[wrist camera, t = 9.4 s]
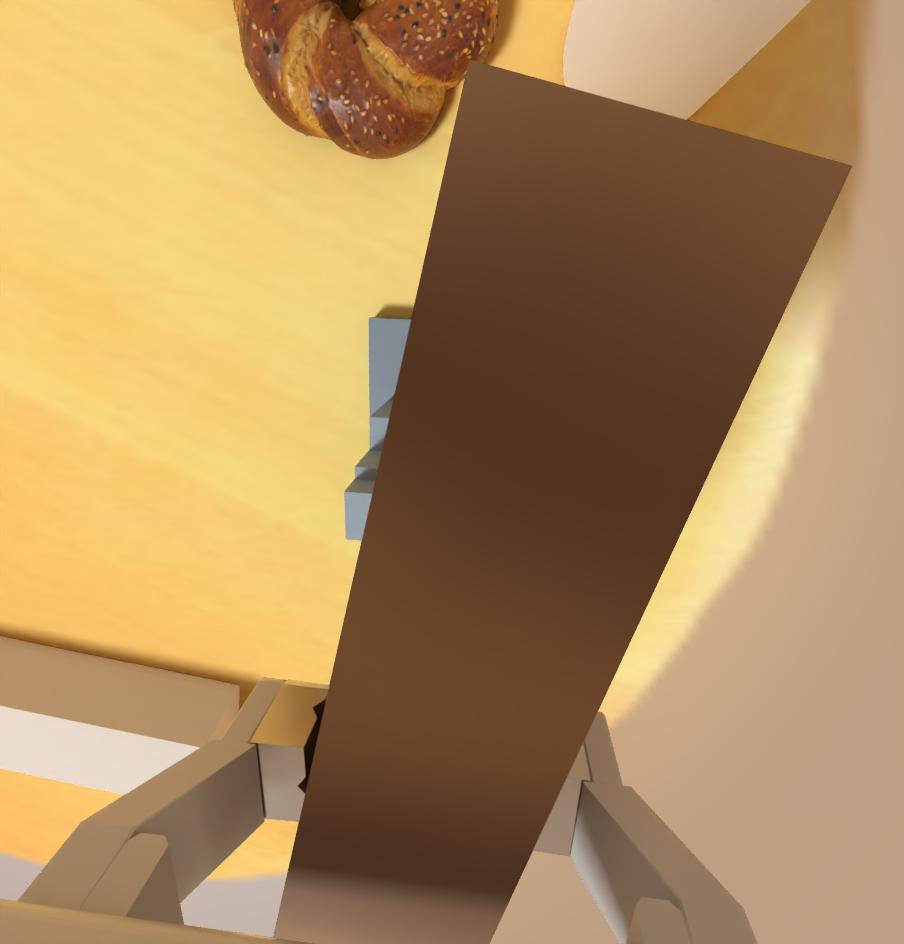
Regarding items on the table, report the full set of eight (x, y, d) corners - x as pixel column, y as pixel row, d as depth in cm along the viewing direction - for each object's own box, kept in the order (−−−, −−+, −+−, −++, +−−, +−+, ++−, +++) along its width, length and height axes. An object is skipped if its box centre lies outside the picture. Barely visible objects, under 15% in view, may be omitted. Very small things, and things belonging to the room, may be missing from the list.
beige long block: (255, 749, 41) (242, 678, 35) (225, 816, 37) (205, 748, 31) (-144, 666, 42) (-220, 584, 36) (-214, 722, 38) (-312, 640, 32)
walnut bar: (485, 185, 9) (468, 59, 4) (667, 236, 9) (852, 165, 4) (309, 889, 16) (227, 1141, 11) (414, 918, 16) (377, 1183, 11)
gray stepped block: (374, 317, 26) (310, 326, 17) (591, 327, 25) (639, 342, 16) (376, 558, 30) (326, 661, 22) (559, 574, 30) (584, 687, 21)
